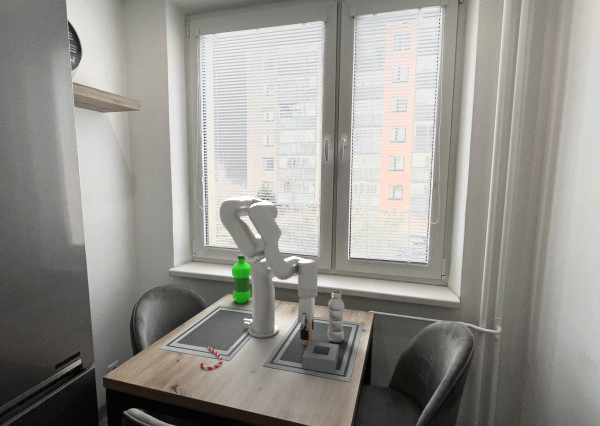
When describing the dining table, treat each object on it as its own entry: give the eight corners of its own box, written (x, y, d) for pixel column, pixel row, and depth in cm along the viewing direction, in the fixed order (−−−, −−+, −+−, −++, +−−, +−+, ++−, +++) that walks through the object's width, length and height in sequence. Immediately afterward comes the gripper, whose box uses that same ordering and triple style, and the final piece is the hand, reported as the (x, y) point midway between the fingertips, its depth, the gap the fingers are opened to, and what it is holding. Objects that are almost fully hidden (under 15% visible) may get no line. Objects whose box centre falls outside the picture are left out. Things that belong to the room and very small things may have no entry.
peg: (300, 344, 127) (300, 320, 126) (302, 340, 131) (303, 316, 130) (310, 346, 126) (310, 321, 125) (312, 341, 130) (313, 317, 129)
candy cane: (217, 344, 125) (224, 364, 111) (217, 347, 125) (224, 368, 111) (196, 348, 122) (201, 369, 108) (196, 351, 122) (201, 373, 108)
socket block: (302, 368, 111) (302, 356, 110) (309, 352, 121) (309, 340, 121) (334, 373, 108) (334, 360, 108) (338, 356, 119) (338, 344, 118)
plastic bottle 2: (343, 345, 127) (344, 296, 125) (326, 343, 128) (327, 294, 126) (344, 337, 133) (345, 290, 131) (328, 336, 134) (329, 289, 132)
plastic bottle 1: (234, 297, 177) (234, 252, 174) (253, 298, 176) (253, 253, 173) (229, 304, 167) (228, 256, 165) (249, 305, 166) (249, 257, 164)
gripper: (303, 283, 136) (303, 324, 137) (292, 298, 119) (292, 343, 120) (321, 285, 134) (320, 326, 135) (312, 300, 117) (311, 346, 119)
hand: (307, 334), depth 128 cm, fingers open, 8 cm apart
